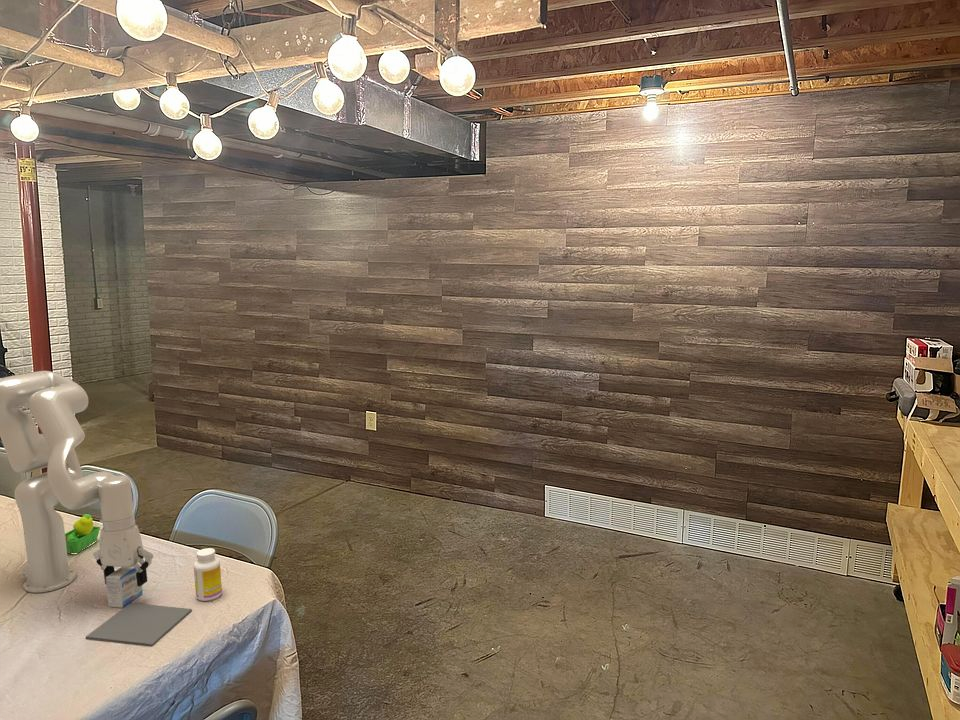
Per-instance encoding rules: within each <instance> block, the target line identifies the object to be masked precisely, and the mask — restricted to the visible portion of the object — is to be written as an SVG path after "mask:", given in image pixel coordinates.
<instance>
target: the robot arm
mask: <svg viewBox="0 0 960 720" xmlns="http://www.w3.org/2000/svg"><path fill="white" fill-rule="evenodd" d="M88 405H89V397H88V394H87V392H86V390H85V389H84V388H83V387H82V386H81V385H80V384H78V383H77V382H75V381H73V380H71V379H69V378H67V377H64V376H63V375H61V374H58V373H56V372H54V371H50V370H39V371H33V372H28V373H21V374H16V375H10V376H5V377H1V378H0V439H1V440H0V441H1V443H2V445H3V448H4V451H5V453H6V456H7V460H8V462H9V464H10V467H11V468H12V470H13V471H14V472H15V473H18V474H28V473H32V472H36V471H38V470H42V469H45V468H47V470H46V471H45V472H43V473H39V474H37V475H34V476H31V477H29V478H26V479H24V480H23V481H21V482H20V483H19V484H18V485H17V486H16V487H15V489H14V500H15V502H16V506H17V508H18V511H19V514H20V518H21V522H22V530H23V537H24V544H25V552H26V561H27V564H24V565H23V566H22V568H21V570H20V571H19V573H18V574H19V576H26V577H25V578H26V580H25V581H24V583H23V590H24V591H26V592H28V593H39V594H40V593H48V592H51V591H54V590H58V589H61V588H64V587H66V586H68V585H69V584H71V583H72V582H74V581H75V580H76V578H77V573H76V570H74V569H72V568H69V567H70V566H69V557H68V554H67V548H66V539H65V534H66V531H65V523H64V519H63V516H61V514H60V513H59V512H58V511H56V510H55V508H54V506H56V505H58V504H60V505H62V507H63V508H65V509H66V510H68V511H78V510H81V509H83V508H85V507H88V506H91V505H93V504H95V503H98V502H99V506H100V513H101V518H100V519H99V522H100V523H102V528H100V531H99V532H100V533H99V549H98V550H96V551H94V552H93V553H92V556H93V558H94V559H95V560H96V563H97V565H98V566H100V570H101V571H103V577H104V583H105V585H106V577H107V576H108V575H110V574H112V573H113V572H115V571H116V570H115V567H117V568H118V567H119V568H121V567H132V566H134V568H135V569H136V570H137V571H138V572H137V573H136V579H137V586H142V587H143V585H145V584H146V583H147V582H148V573H147V569H148V568H149V567H150V565H151V564H152V562H153V558H154V554H153V553H152V552H149V551H148V550H146V549H144V544H143V540H142V537H141V536H142V535H141V532H140V530H139V527H138V525H137V524H136V519H135V511H134V504H133V495H132V493H133V492H132V487H131V486H132V485H131V479H130V478H129V477H128V476H127V475H116V474H114V473H112V472H110V471H107V470H106V471H105V470H103V471H97V472H95V473H91V474H89V475H85V476H84V472H83V470H82V467H81V464H80V461H79V458H78V455H77V453H76V450H75V448H76V447H77V446H79V445H80V444H82V442H83V441H84V439H85V437H86V434H85V432H84V430H83V428H82V426H81V425H80V423H79V421H78V419H77V418H76V415H75V414H78V413H82V412H83V411H85V410H86V409H87V408H88ZM22 406H28V408H29V411H30V413H31V415H32V416H31V415H30V414H28V413H27V412H26V411H24V410H23V409H21V408H19V407H22ZM35 422H36V423H35ZM36 424H37V425H36ZM37 426H38V428H39V429H40V432H41V433H39V431H38V428H37Z"/></svg>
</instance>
